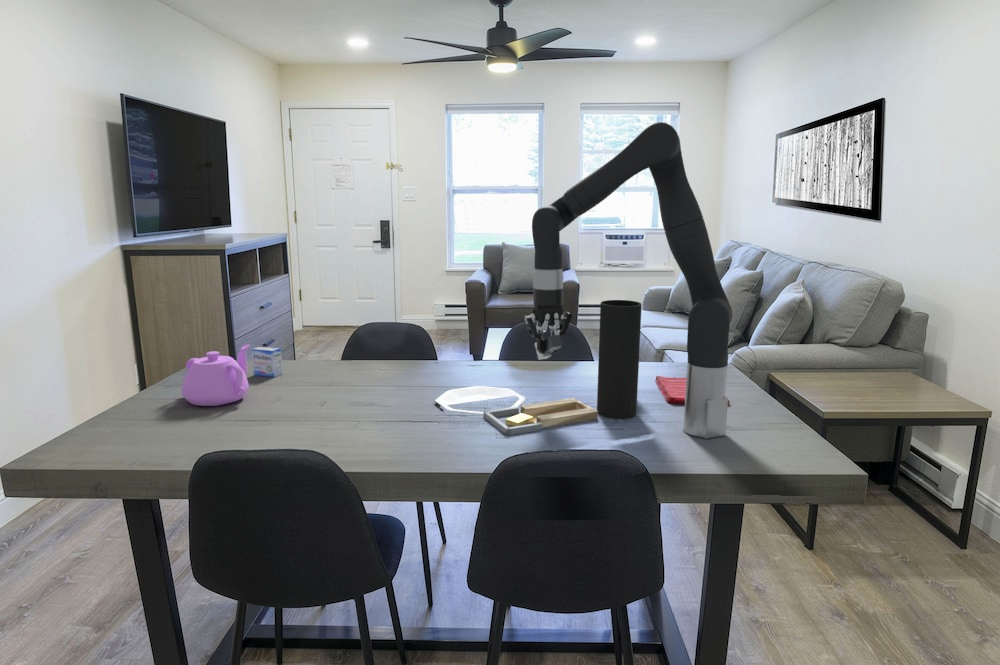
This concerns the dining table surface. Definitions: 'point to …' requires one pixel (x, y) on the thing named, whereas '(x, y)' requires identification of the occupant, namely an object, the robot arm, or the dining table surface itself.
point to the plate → (475, 396)
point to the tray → (501, 426)
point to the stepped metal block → (550, 346)
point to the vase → (618, 358)
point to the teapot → (215, 379)
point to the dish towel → (672, 389)
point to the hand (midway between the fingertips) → (547, 352)
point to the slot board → (559, 412)
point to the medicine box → (267, 361)
